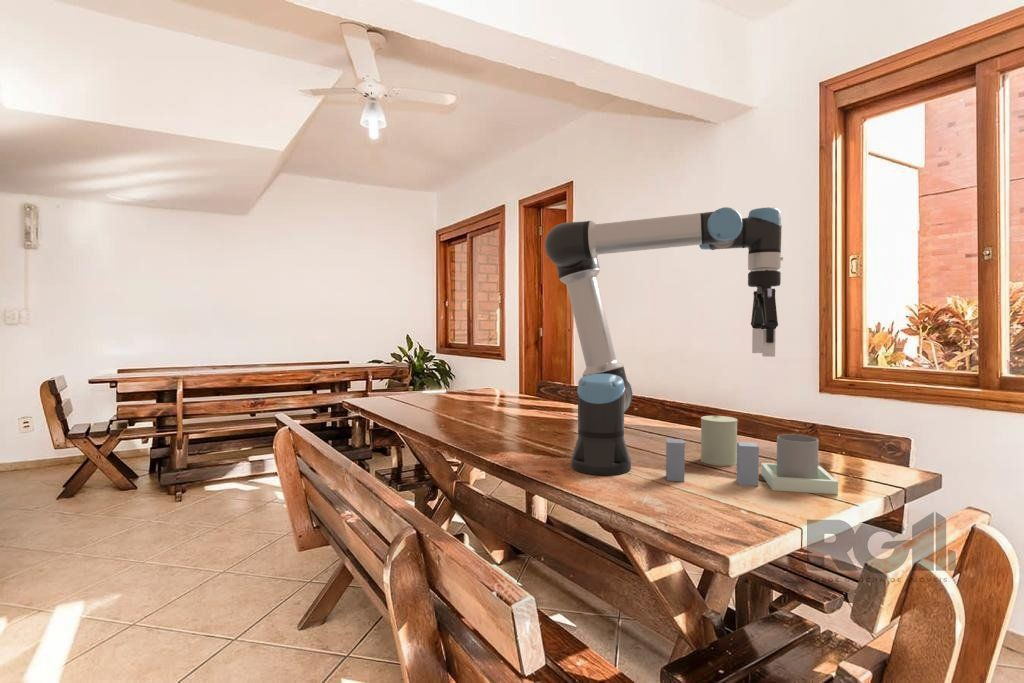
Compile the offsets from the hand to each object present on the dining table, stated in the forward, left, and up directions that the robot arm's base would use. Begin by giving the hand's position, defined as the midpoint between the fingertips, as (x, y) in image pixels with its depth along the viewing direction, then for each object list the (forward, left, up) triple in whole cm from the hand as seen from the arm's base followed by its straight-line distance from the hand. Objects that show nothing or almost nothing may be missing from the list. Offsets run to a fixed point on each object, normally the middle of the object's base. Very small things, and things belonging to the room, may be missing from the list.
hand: (763, 354), depth 141 cm
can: (-10, +3, -29) cm, 31 cm away
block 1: (-22, -16, -29) cm, 40 cm away
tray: (+5, -14, -29) cm, 32 cm away
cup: (+5, -14, -28) cm, 32 cm away
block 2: (-6, -16, -29) cm, 33 cm away
